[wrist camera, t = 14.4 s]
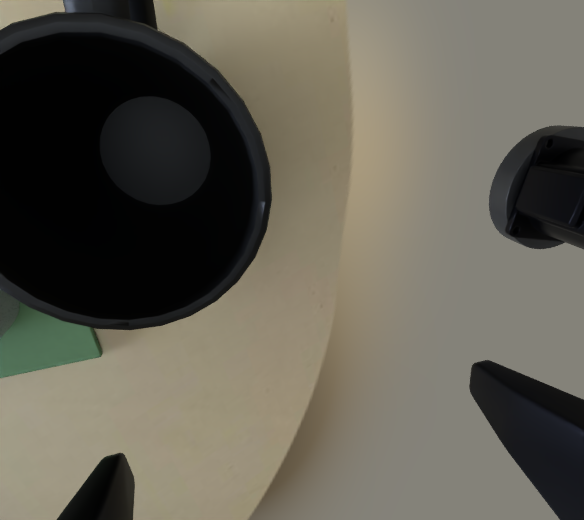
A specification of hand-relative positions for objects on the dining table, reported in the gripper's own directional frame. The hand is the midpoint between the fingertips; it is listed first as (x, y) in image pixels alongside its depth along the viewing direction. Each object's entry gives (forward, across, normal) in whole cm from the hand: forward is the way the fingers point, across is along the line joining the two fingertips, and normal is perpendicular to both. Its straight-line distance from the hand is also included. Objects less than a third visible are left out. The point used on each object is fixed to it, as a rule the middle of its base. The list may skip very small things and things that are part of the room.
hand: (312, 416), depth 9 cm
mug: (+13, +4, -7) cm, 15 cm away
